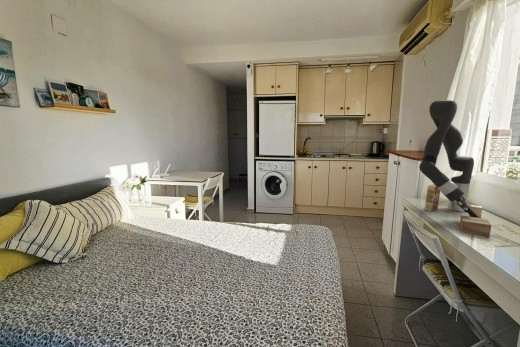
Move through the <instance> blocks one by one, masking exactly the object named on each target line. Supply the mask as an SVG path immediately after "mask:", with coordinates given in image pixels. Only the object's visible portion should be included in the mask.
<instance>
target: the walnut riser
mask: <svg viewBox="0 0 520 347" xmlns="http://www.w3.org/2000/svg"><path fill="white" fill-rule="evenodd" d="M459 229H461V230H460V232H461V233H462V232H463V233H462V234H467V233H468V235H473V236H478V237H479V236H480V237H486V238H490V236H491V231H492V224H491V222H490V221H489V220H488V218H483V217H481V218H476V217H469V215H463V214H462V215H460V219H459Z"/></svg>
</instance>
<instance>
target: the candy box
mask: <svg viewBox="0 0 520 347" xmlns="http://www.w3.org/2000/svg"><path fill="white" fill-rule="evenodd" d="M440 196H441V191H440V190H439V189H438V188H437V187H436V185H435V184H432V185H428V186H427V189H426V197H425V204H424V210H425V211H429V212H432V211H437V210H438V209H439V202H440V198H441V197H440Z"/></svg>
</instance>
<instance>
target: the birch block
mask: <svg viewBox="0 0 520 347" xmlns="http://www.w3.org/2000/svg"><path fill="white" fill-rule="evenodd" d="M470 208H471V209H472V211H473V212H474V213H475V214H476V215H477V216H478V217H477V218H482V212H483V206H480V205H473V204H471V205H470ZM468 216H469V217H471V216H470V215H469V214H468Z"/></svg>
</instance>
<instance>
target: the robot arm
mask: <svg viewBox="0 0 520 347" xmlns="http://www.w3.org/2000/svg"><path fill="white" fill-rule="evenodd" d="M457 112H458V102H456V100H435V101H433V102H432V103H431V104H430V106H429V115H430V118H431V119H432V121H433V123H434V124H435V127H436V129H435V131H434V132H433V133H432V134H431V135H429V137H428V139H427V141H426V143H425V146H424V150H423V156H422V159H421V163H420V164H419V167H418V168H419V171H420V172H421V173H422V174H423V175H424V176H426V178H428V179H429V180H430V181H431V183H432V184H433V185H436V187H437V188H438V189H439V190H440V193H441V194H442V195H443V196H444V197H446V199H448V201H447V206H446V207H447V210H450V211H454V212H461V213H462V212H464V213H466V214H468V216H469V215H470V216H471V217H476V218H477V217H478V216H477V215H476V214H475V213H474V212H473V211H472V209H471V208H470V205H472V203H471V202H469V200H468V199H469V192H470V187H471V185H470V183H471V180H472V177H473V176H472V175H473V172H474V166H475V160H474V158H473V157H472V156H465V155H464V156H463V155H461V156H459V155H458V154H457V151H458V150H459V149H460V148H461V146H462V145H463V143H464V141H463V139H464V138H463V136H462V132H461V131H460V130H459V128H458V127H457V126H455V125H454V124H453V121H454V118H455V116H456V114H457ZM442 145H443V148H444V149H445V152H446V156H447V160H448V164H449V168H450V170H452V171H455V172H460V173H461V172H462V174H460V175H458V176H457V175H456V176H452V177H450V178H449V177H448V176H447V175H446V174H445V173H444V172H442V171H441V169H439V168H438V167H437V166H436V165H437V160H438V158H439V157H438V156H439V155H440V152H441V147H442Z"/></svg>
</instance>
